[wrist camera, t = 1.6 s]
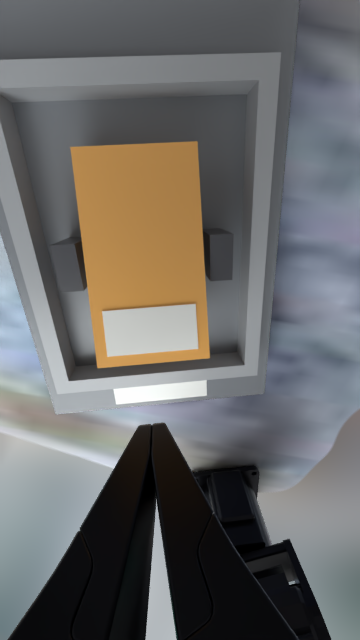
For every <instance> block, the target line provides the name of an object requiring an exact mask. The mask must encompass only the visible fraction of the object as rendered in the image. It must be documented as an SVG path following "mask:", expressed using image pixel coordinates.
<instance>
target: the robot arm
mask: <svg viewBox="0 0 360 640" xmlns="http://www.w3.org/2000/svg"><path fill="white" fill-rule="evenodd" d="M258 482H259V470H258V468H257V467H256V466H249V467H240V468H232V469H223V470H214V471H205V472H196V473H192V471H191V469H190V467H189V466H188V464H187V462H186V460H185V458H184V457H183V455H182V453H181V451H180V449H179V447H178V446H177V444H176V442H175V440H174V438H173V437H172V435H171V433H170V431H169V429H168V427H167V426H166V424H165V423H155V424H153V425H151V424H146V425H140V426H138V428H137V430H136V431H135V433H134V435H133V437H132V438H131V440H130V442H129V443H128V445H127V447H126V449H125V450H124V452H123V454H122V456H121V457H120V459H119V461H118V463H117V464H116V466H115V468H114V470H113V471H112V473H111V475H110V477H109V479H108V480H107V482H106V483H105V485H104V487H103V489H102V490H101V492H100V494H99V496H98V497H97V499H96V501H95V503H94V504H93V506H92V508H91V510H90V511H89V513H88V515H87V517H86V518H85V520H84V522H83V523H82V525H81V527H80V531H78V532H77V534H76V535H75V537H74V539H73V541H72V542H71V544H70V546H69V548H68V549H67V551H66V553H65V554H64V556H63V557H62V559H61V561H60V562H59V564H58V566H57V567H56V569H55V571H54V572H53V574H52V575H51V577H50V578H49V580H48V581H47V583H46V584H45V586H44V587H43V589H42V590H41V592H40V593H39V595H38V596H37V598H36V599H35V601H34V602H33V604H32V605H31V607H30V608H29V609H28V611H27V612H26V614H25V615H24V617H23V618H22V619H21V621H20V622H19V624H18V625H17V627H16V628H15V630H14V631H13V633H12V634H11V635H10V637H9V638H8V640H145V636H146V625H147V624H146V623H147V611H148V599H149V586H150V574H151V561H152V547H153V536H154V522H155V510H156V499H157V506H158V512H159V520H160V526H161V533H162V540H163V548H164V555H165V562H166V568H167V576H168V583H169V589H170V597H171V603H172V610H173V617H174V624H175V631H176V638H177V640H331V637H330V635H329V632H328V630H327V627H326V624H325V622H324V619H323V617H322V614H321V612H320V609H319V607H318V604H317V602H316V599H315V597H314V595H313V592H312V590H311V588H310V585H309V583H308V581H307V578H306V576H305V574H304V571H303V569H302V567H301V565H300V562H299V560H298V558H297V555H296V553H295V551H294V548H293V546H292V544H291V542H290V539H287V540H283V542H281V543H278V544H274V545H272V543H271V540H270V537H269V534H268V531H267V528H266V526H265V522H264V519H263V517H262V513H261V511H260V508H259V505H258V502H257V492H258ZM290 581H295V583H296V584H292V585H289V583H288V582H290Z"/></svg>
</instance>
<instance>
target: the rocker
mask: <svg viewBox="0 0 360 640" xmlns="http://www.w3.org/2000/svg"><path fill="white" fill-rule="evenodd" d="M70 149H71V157H72V165H73V173H74V181H75V190H76V198H77V206H78V214H79V222H80V230H81V238H82V247H83V255H84V263H85V271H86V279H87V287H88V295H89V304H90V312H91V320H92V328H93V336H94V344H95V353H96V361H97V368H107V367H119V366H130V365H141V364H152V363H163V362H174V361H185V360H196V359H207V358H210V351H209V333H208V316H207V299H206V281H205V264H204V247H203V229H202V212H201V195H200V177H199V160H198V142H197V141H192V142H170V143H147V144H125V145H102V146H80V147H70Z"/></svg>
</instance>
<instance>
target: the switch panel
mask: <svg viewBox="0 0 360 640" xmlns="http://www.w3.org/2000/svg"><path fill="white" fill-rule="evenodd" d="M299 3H300V0H0V232H1V236H2V239H3V242H4V245H5V249H6V252H7V255H8V259H9V262H10V265H11V269H12V272H13V275H14V278H15V282H16V285H17V288H18V292H19V295H20V298H21V301H22V305H23V308H24V311H25V315H26V318H27V321H28V325H29V328H30V331H31V334H32V338H33V341H34V344H35V348H36V351H37V354H38V357H39V361H40V364H41V367H42V371H43V374H44V377H45V381H46V384H47V387H48V390H49V394H50V397H51V400H52V404H53V407H54V410H55V413H56V414H65V413H75V412H85V411H96V410H106V409H116V408H126V407H136V406H146V405H156V404H167V403H177V402H187V401H197V400H207V399H217V398H227V397H237V396H248V395H258V394H264V393H265V382H266V371H267V359H268V348H269V337H270V326H271V315H272V304H273V293H274V281H275V270H276V259H277V248H278V237H279V226H280V215H281V203H282V192H283V181H284V170H285V159H286V148H287V137H288V125H289V114H290V103H291V92H292V81H293V70H294V59H295V48H296V36H297V25H298V14H299ZM192 141H197V142H198V160H199V177H200V195H201V212H202V229H203V247H204V264H205V281H206V299H207V316H208V333H209V351H210V358H207V359H196V360H185V361H174V362H163V363H152V364H141V365H130V366H119V367H107V368H97V361H96V353H95V344H94V336H93V328H92V320H91V312H90V304H89V295H88V287H87V279H86V271H85V263H84V255H83V247H82V238H81V230H80V222H79V214H78V206H77V198H76V190H75V181H74V173H73V165H72V157H71V149H70V147H80V146H102V145H125V144H147V143H170V142H192Z"/></svg>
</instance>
